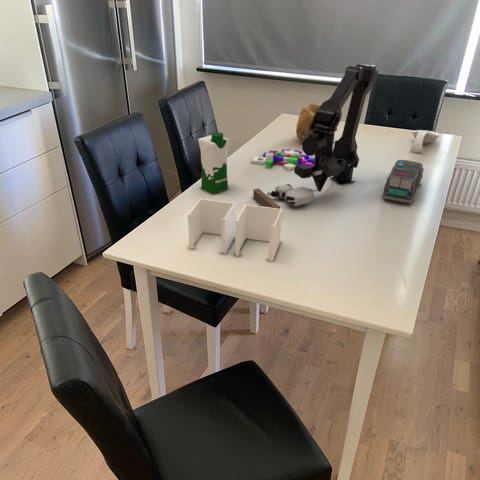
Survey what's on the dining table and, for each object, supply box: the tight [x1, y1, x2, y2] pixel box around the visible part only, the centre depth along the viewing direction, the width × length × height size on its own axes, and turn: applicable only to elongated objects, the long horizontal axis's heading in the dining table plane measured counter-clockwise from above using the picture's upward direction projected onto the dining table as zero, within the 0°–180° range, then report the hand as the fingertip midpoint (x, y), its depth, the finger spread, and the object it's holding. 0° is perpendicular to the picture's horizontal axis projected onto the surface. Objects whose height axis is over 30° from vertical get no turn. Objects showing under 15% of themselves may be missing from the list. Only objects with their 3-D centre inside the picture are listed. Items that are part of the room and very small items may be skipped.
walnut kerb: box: [252, 188, 281, 209], centre depth 163 cm, size 2×16×3 cm, turn 24°
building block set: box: [251, 148, 315, 171], centre depth 197 cm, size 25×20×4 cm
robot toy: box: [266, 183, 319, 207], centre depth 167 cm, size 12×4×15 cm
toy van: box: [381, 159, 425, 204], centre depth 172 cm, size 11×25×10 cm, turn 155°
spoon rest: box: [409, 129, 440, 154], centre depth 213 cm, size 24×12×7 cm, turn 152°
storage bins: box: [187, 198, 283, 262], centre depth 140 cm, size 25×11×11 cm, turn 75°
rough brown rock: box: [295, 102, 325, 145], centre depth 213 cm, size 23×17×15 cm
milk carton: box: [197, 131, 230, 195], centre depth 169 cm, size 9×9×20 cm
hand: (319, 191), depth 170 cm, fingers closed
